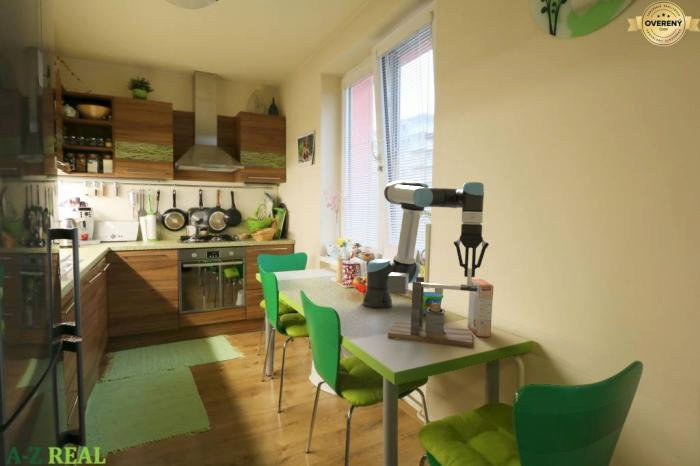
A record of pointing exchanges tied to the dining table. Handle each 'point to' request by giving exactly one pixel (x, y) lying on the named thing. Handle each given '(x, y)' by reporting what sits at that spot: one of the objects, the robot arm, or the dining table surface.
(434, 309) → the tan ball
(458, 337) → the press base
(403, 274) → the lever
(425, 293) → the snack cup
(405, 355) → the dining table surface
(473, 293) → the cracker box
